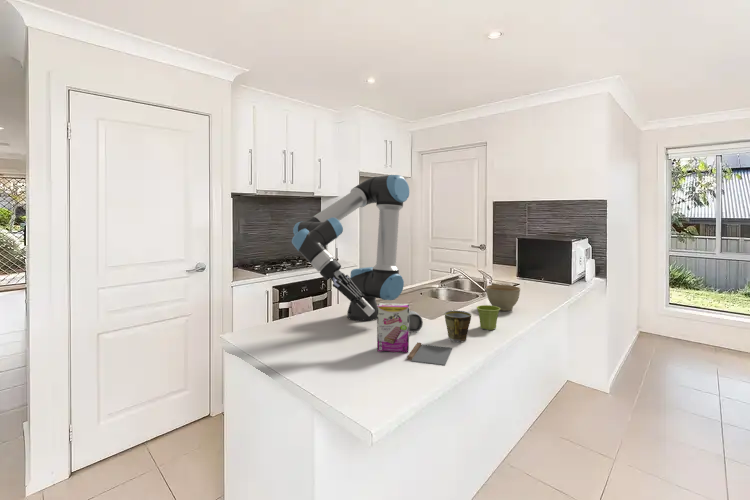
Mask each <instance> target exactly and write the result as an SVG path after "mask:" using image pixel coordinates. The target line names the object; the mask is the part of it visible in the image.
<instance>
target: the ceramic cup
mask: <svg viewBox="0 0 750 500" xmlns="http://www.w3.org/2000/svg"><path fill="white" fill-rule="evenodd" d="M444 319H445V325H446V330H447V336H448V340H449V341H451V342H453V343H463V342H466V341H467V338H468V333H469V328H470V324H471V320H472V313H471V312H468V311H464V310H448V311H446V312H444Z"/></svg>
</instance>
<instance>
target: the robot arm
mask: <svg viewBox="0 0 750 500" xmlns="http://www.w3.org/2000/svg"><path fill="white" fill-rule="evenodd" d="M409 197H410V186H409V183H408V182H407V180H406V178H404V176H402V175H399V174H388V175H382V176H373V177H370V178H368V179H366V180H364V181H362V182H361V183H359V184H357V185H356V186H354V187H353V188H351V189H350V192H349V193H348V194H346V195H345V196H342V197H341V198H340V199H338V200H337V201H335V202H334V203H331V204H330V205H328V206H327V207H326V208H324V209H322V210H321V211H319V212H318V213H317V214H315V215H313V216H312V217H310V218H308V219H307V220H305V221H304V220H302V221H299V222H296V223H295V224H294V226H293V228H292V232H293V237H292V239H291V244H292V245H293V247H294V248H295V249H296V250H297V252H299V253H300V254H301V255H302V257H304V259H306V261H307V262H309V264H310V265H311V266H312V269H315V270H316V271H317V272H319V274H320V275H321V277H323V279H324V280H326V281H328V280H329V279H331V281H332V282H333V283H332V287H333V288H335V289H336V290H338V291H339V292H340V293H341V295H343V296H344V297H345V298H346V299H348V300H349V301H350V302H349V305H348V309H347V312H346V314H347V317H346V318H347V319H349V318H350V319H349V320H351V319H352V320H351V321H356V320H359V321H358V322H366V321H365V320H369V321H373V319H375V320H377V319H376V318H377V306H378V303H377V299H381V300H384V301H394V300H396V299H398V298H399V297H400V296H401V294H402V293H403V290H404V288H405V287H404V285H405V284H404V283H405V281H404V279H403V276H402V275H400V269H399V267H398V266H397V255H398V251H397V250H398V237H399V236H398V235H399V234H398V233H399V218H400V211H401V210H402V209H403V207H404V203H405V202H406V201H407V200H408V198H409ZM370 204H376V207H377V208H378V210H379V211H378V212H379V213H378V214H379V215H378V216H379V217H378V229H377V244H376V245H377V248H376V262H375V265H374V266H369V267H359V268H358V267H357V268H354V269H351V271H350V276H349V274H345V272H342V271H340V269H341V268H342V265H341V263H340V262H338V260H336V259H335V258H334V256H333V254H331V253H330V252H329V251H328V250H327V249H326V248H325V247H326V246H327V245H329V244H331V243H332V242H333V241H334V240H336V239H338V238H339V236H341V235H342V234H343V232H344V228H343V227H344V226H343V225H342V224H343V223H342V222H341V220H343V219H344V218H345V217H347V216H349V215H350V214H351V213H353V212H354V211H356V210H357V209H360V208H365V207H366V206H367V205H370Z"/></svg>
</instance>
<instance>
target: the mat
mask: <svg viewBox="0 0 750 500" xmlns="http://www.w3.org/2000/svg"><path fill="white" fill-rule="evenodd" d="M452 350H453V347H450V346H449V347H447V346H441V345H440V346H439V345H432V344H431V345H430V344H422V343H421V347H420V348H419V350H418V351H417V353H416V354H415V356H414V357H413V359H412V360H410V361H411V362H412V363H413V362H414V363H422V364H429V365H430V364H431V365H436V366H437V365H438V366H446V364H447V362H448V360H449V357H450V355H451V353H452Z"/></svg>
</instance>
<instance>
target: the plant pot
mask: <svg viewBox="0 0 750 500" xmlns="http://www.w3.org/2000/svg"><path fill="white" fill-rule="evenodd" d="M476 309H477V312H478V319H479V325H480V326H479V327H480V328H481V329H483V330H488V331H493V330H495V329H496V328H497V322H498V316H499V313H500V311H501V310H500V308H499V307H497V306H492V305H485V304H484V305H483V304H482V305H478V306H476Z"/></svg>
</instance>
